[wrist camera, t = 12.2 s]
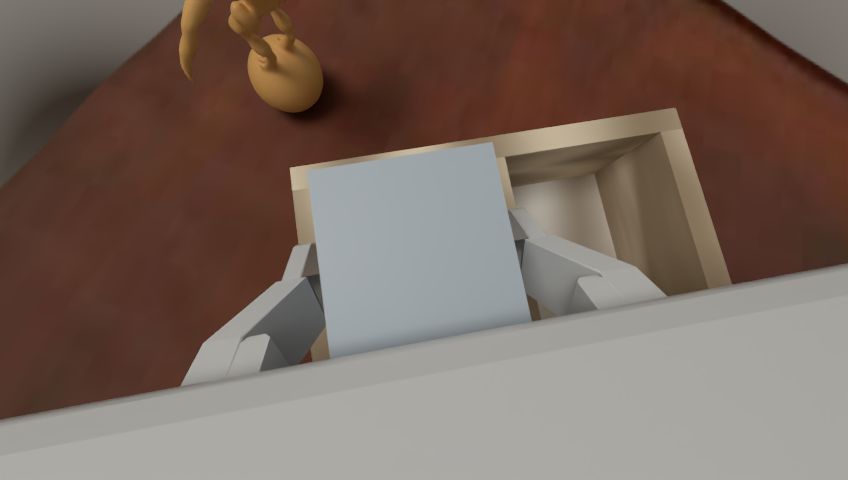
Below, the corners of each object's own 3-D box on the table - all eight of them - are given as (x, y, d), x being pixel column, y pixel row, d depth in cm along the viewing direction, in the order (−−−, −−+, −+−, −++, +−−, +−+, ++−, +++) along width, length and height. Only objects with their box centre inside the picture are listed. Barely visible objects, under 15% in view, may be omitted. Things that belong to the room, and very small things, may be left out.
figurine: (315, 34, 20) (170, -322, 8) (388, 82, 20) (344, -221, 8) (234, 128, 19) (-66, -128, 7) (309, 181, 19) (122, 1, 7)
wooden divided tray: (609, 152, 19) (693, 94, 13) (657, 326, 18) (776, 346, 12) (313, 200, 19) (264, 160, 13) (336, 387, 17) (293, 442, 11)
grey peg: (451, 220, 14) (492, 141, 7) (467, 304, 14) (533, 330, 6) (368, 234, 14) (306, 170, 6) (381, 319, 14) (331, 367, 6)
